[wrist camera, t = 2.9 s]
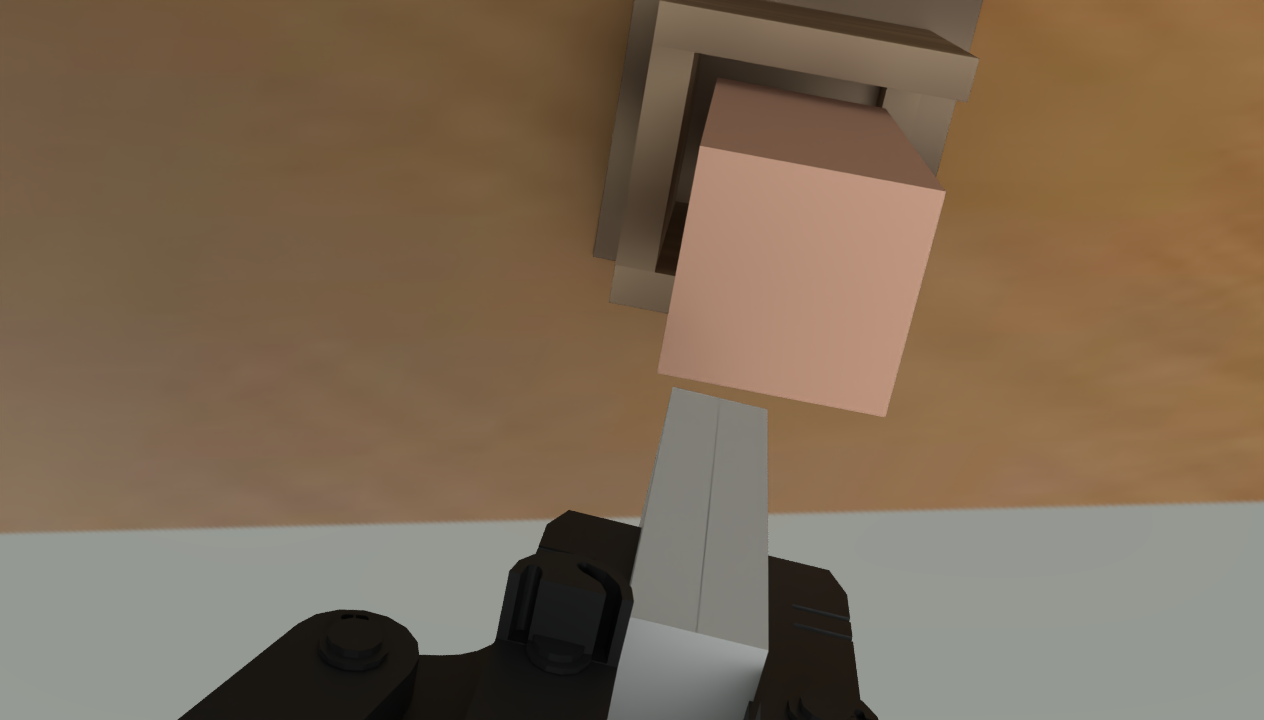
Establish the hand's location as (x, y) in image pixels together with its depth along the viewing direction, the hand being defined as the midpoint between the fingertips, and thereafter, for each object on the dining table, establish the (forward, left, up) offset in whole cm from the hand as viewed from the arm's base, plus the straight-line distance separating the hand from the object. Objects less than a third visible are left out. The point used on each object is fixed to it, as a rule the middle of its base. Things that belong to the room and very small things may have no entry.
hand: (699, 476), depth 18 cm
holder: (-1, +1, -27) cm, 27 cm away
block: (-1, +1, -19) cm, 19 cm away
